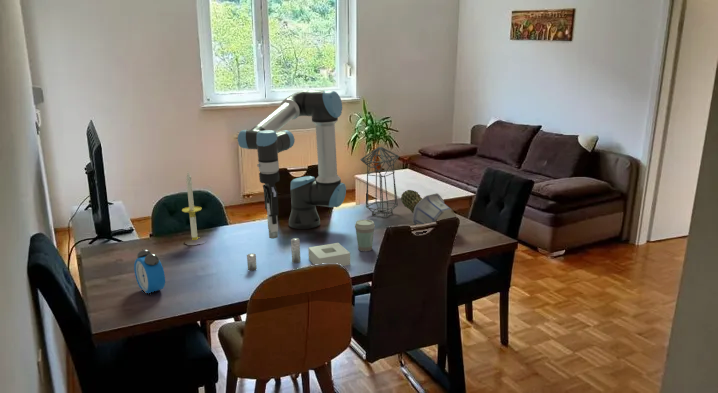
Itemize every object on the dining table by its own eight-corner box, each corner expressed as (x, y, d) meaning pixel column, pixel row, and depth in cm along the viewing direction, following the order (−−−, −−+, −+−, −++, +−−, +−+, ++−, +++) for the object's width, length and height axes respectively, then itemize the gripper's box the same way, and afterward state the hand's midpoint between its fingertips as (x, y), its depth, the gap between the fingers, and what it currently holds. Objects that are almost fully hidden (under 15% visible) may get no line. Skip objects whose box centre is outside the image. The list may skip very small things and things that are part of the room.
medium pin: (291, 260, 229) (289, 238, 226) (299, 259, 230) (298, 237, 227) (293, 263, 226) (292, 241, 223) (301, 262, 227) (300, 240, 224)
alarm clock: (136, 288, 206) (131, 249, 202) (152, 283, 210) (147, 245, 206) (151, 299, 196) (146, 259, 192) (168, 294, 200) (163, 254, 196)
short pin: (247, 268, 222) (246, 254, 220) (255, 267, 223) (254, 252, 221) (249, 271, 219) (247, 257, 217) (257, 270, 220) (256, 255, 218)
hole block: (308, 259, 230) (308, 247, 229) (338, 253, 235) (338, 242, 234) (319, 270, 219) (319, 258, 217) (350, 264, 224) (350, 253, 222)
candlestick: (178, 244, 249) (170, 172, 240) (193, 237, 258) (186, 167, 249) (197, 247, 246) (190, 174, 237) (211, 239, 254) (204, 169, 246)
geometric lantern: (387, 221, 276) (385, 151, 267) (360, 216, 285) (357, 148, 275) (403, 212, 289) (401, 145, 280) (377, 208, 298) (374, 143, 288)
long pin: (268, 236, 222) (265, 202, 218) (276, 235, 224) (274, 201, 220) (270, 239, 219) (268, 204, 215) (278, 237, 221) (276, 203, 217)
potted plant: (464, 202, 254) (421, 175, 275) (434, 211, 244) (392, 182, 265) (457, 235, 262) (416, 206, 283) (428, 245, 253) (388, 214, 274)
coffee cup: (373, 253, 236) (373, 225, 232) (353, 251, 237) (352, 224, 234) (376, 245, 244) (376, 219, 240) (357, 244, 245) (356, 218, 242)
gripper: (254, 168, 220) (258, 224, 226) (264, 177, 205) (269, 237, 212) (272, 166, 223) (276, 222, 229) (284, 175, 208) (288, 234, 215)
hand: (273, 229), depth 221 cm, fingers closed on long pin, 3 cm apart
